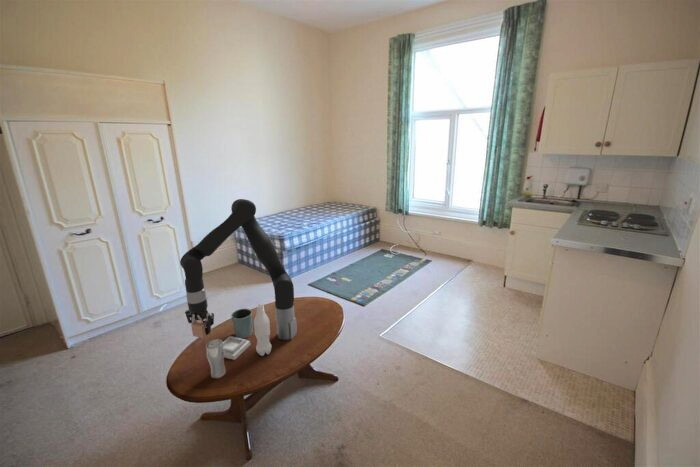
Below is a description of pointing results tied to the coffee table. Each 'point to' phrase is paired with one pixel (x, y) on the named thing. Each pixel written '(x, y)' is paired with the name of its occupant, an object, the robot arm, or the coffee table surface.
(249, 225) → the robot arm
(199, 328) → the terracotta block
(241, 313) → the teal cup
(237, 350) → the grey stand
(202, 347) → the coffee table surface
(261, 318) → the water bottle
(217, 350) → the beer glass
